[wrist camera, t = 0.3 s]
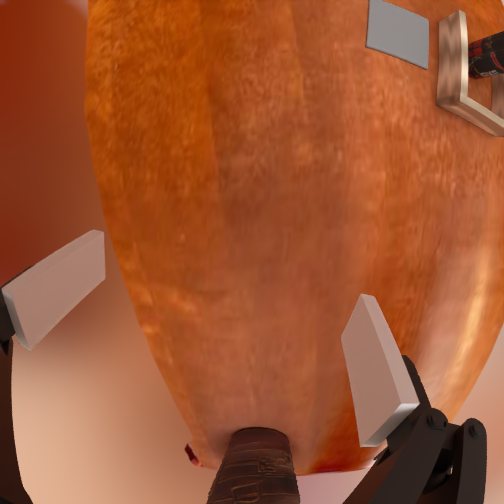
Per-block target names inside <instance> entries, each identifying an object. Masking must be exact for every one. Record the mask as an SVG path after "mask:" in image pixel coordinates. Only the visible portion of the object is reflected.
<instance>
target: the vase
mask: <svg viewBox="0 0 504 504" xmlns="http://www.w3.org/2000/svg"><path fill="white" fill-rule="evenodd" d="M210 489H211V490H210V492H209V496H208V501H207V503H206V504H300V495H299V491H298V486H297V480H296V474H294V467H293V461H292V455H291V452H290V448H289V441H288V439H287V437H286V436H285V435H284V434H282V433H280V432H278V431H275V430H271V429H264V428H250V429H245V430H242V431H240V432H237V433H236V434H235V435H234V436H233V437H232V439H231V442H230V443H229V447H228V449H227V451H226V454H225V457H224V458H223V460H222V464H221V465H220V469H219V470H218V472H217V474H216V478H215V480H214V481H213V484H212V487H211V488H210Z"/></svg>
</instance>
